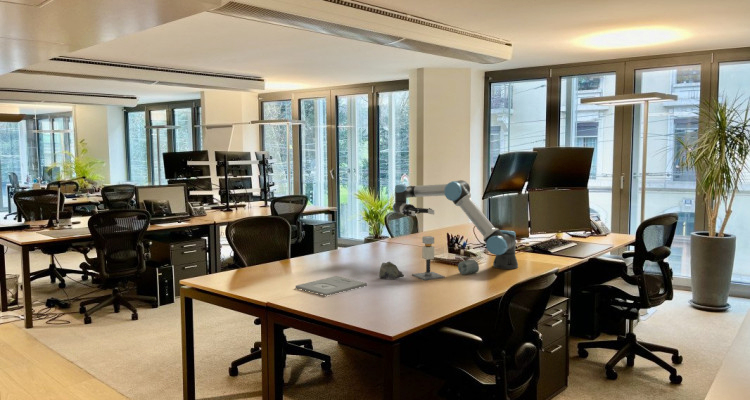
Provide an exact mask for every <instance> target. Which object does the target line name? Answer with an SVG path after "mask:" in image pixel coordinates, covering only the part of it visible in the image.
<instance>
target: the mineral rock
mask: <svg viewBox="0 0 750 400" xmlns="http://www.w3.org/2000/svg"><path fill="white" fill-rule="evenodd" d="M404 277H405V274H403V272H402V271H401V270H400V269H399V268H398V266H397V265H396V264H394V263H393V262H391V261H387V262H382V263H381V265H380V268H379V276H378V278H379V279H390V280H391V279H392V280H394V279H400V278H404Z"/></svg>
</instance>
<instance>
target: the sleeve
mask: <svg viewBox="0 0 750 400" xmlns="http://www.w3.org/2000/svg"><path fill="white" fill-rule="evenodd" d="M421 251H422V259H425V261H426V260H428V259H430V260H434V259H435V246H433V245H432V246H430V247H426V246H425V245H422V250H421Z"/></svg>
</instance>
